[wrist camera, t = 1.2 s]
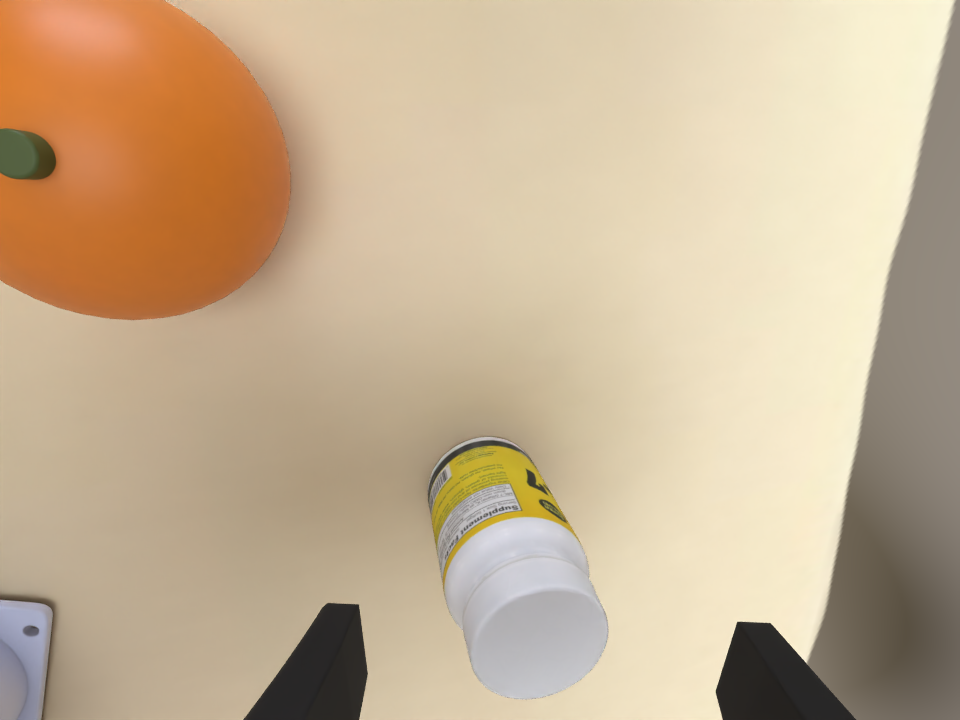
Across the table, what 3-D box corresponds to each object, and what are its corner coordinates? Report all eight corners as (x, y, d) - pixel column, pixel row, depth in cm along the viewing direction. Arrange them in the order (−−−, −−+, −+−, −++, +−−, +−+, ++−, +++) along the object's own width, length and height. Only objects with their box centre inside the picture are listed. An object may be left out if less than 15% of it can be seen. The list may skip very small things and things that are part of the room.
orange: (281, 314, 18) (216, 404, 11) (29, 253, 16) (-277, 311, 8) (329, 86, 16) (291, -1, 9) (50, -16, 14) (-319, -247, 7)
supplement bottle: (549, 502, 23) (640, 666, 15) (452, 547, 23) (494, 738, 15) (512, 414, 21) (595, 548, 13) (407, 462, 21) (428, 627, 13)
